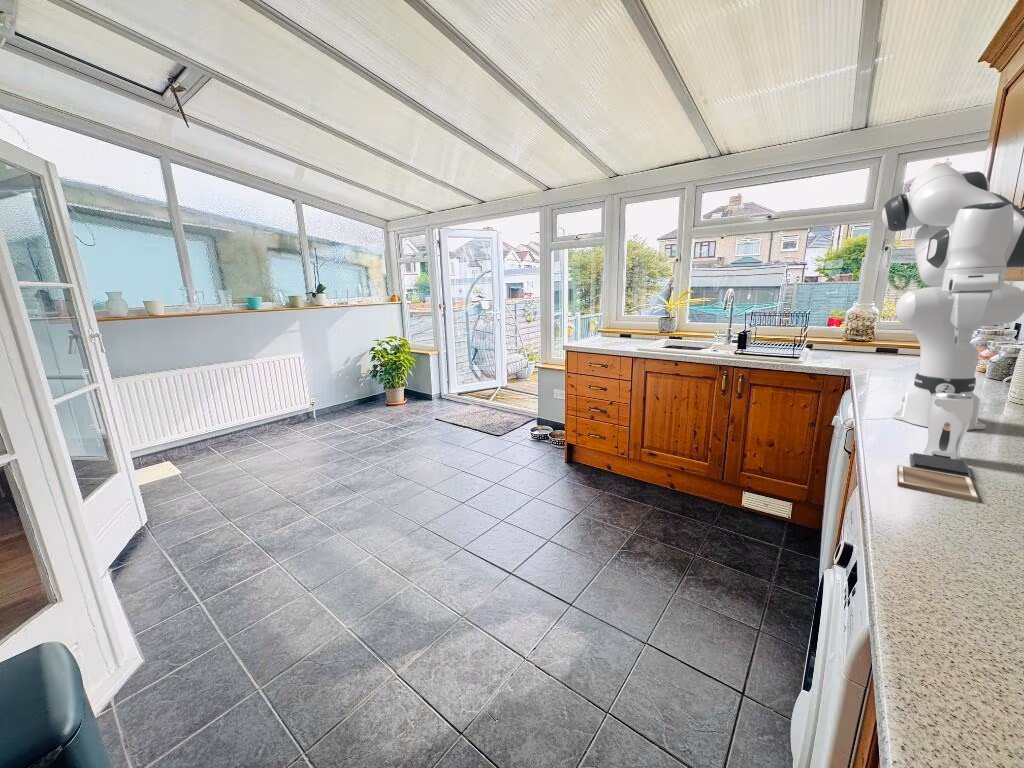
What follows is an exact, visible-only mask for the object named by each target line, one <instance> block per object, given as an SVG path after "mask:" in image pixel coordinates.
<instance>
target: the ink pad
mask: <svg viewBox="0 0 1024 768" xmlns="http://www.w3.org/2000/svg"><path fill="white" fill-rule="evenodd" d="M909 467H914V468H920V469H925V470H931V471H937V472H943V473H948V474H954V475H960V476H966V477H970V478H971V480H972V479H973V475H972V473H971V471H970V468H969V466H968V463H967V462H966V461H965V460H956V459H950V458H943V457H937V456H931V455H924V454H923V453H916V452H912V453H910V454H909Z"/></svg>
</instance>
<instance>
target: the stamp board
mask: <svg viewBox="0 0 1024 768" xmlns="http://www.w3.org/2000/svg"><path fill="white" fill-rule="evenodd" d="M896 469H897V471H896V475H897V480H896V481H897V487H898V486H900V487H899V488H903V487H904V489H908V488H910V489H909V490H914V491H919V490H920V491H919V492H924V491H925V492H924V493H929V492H930V494H933V495H939V496H944V497H948V498H954V499H959V498H960V499H959V500H964V499H966V500H965V501H969V500H970V501H969V502H974V503H979V499H980V498H979V495H978V492H977V490H976V487H975V486H974V483H973V480H972V479H971V478H970V477H966V476H960V475H954V474H948V473H943V472H937V471H931V470H925V469H920V468H914V467H910V466H907V465H902V464H898V465H897V467H896Z"/></svg>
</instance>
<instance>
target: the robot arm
mask: <svg viewBox="0 0 1024 768" xmlns="http://www.w3.org/2000/svg"><path fill="white" fill-rule="evenodd" d="M881 220H882V223H883V225H884V226H885V227H886V228H887V229H888V230H889V231H891V232H901V231H906V230H907V229H911V228H917V227H919V228H918V229H917V230H916V231H915V235H914V242H913V244H914V245H913V250H914V256H915V261H916V264H917V269H918V273H919V277H920V279H921V281H922V282H923V283H924V284H925V285H927V286H928V287H924V288H923V287H922V288H917V289H913V290H908V291H906V292H904V293H903V294H902V295H901V296H900V298H898V300H897V301H896V304H895V307H894V313H895V316H896V319H898V321H899V322H900V323H901V324H903V325H904V326H906V327H907V328H908V329H910V330H911V332H913V333H914V335H915V336H916V338H917V340H918V342H919V348H920V349H919V350H920V352H919V354H920V355H919V363H918V364H919V366H918V371H917V373H916V374H915V375H914V376H915V377H914V379H913V380H914V381H913V388H912V389H910V390H908V391H907V392H906V393H905V394H904V395H903V396H902V399H901V401H902V403H903V404H902V405H901V408H900V409H899V410H897V411H896V412H895V413H894V414H893V416H892V418H893V419H895V420H899V421H903V422H906V423H909V424H911V425H912V424H913V425H916V426H921V427H927V428H928V424H927V415H928V409H929V404H930V401H931V398H932V394H933V393H956V394H963V395H968V396H972V397H974V402H973V413H972V419H971V422H970V425H969V427H968V430H967V431H971V430H986V427H987V426H986V424H984V423H982V422H981V421H979V420H978V419H979V414H980V413H979V412H980V406H981V405H980V404H981V399H980V398H979V397H978V396H977V395H975V393H974V392H973V391H975V387H976V385H977V382H976V381H977V378H976V377H975V374H976V369H977V363H978V358H979V350H978V349H977V346H975V345H974V344H972V343H971V341H972V337H973V335H974V330H975V329H980V328H981V327H990V326H997V325H998V326H999V325H1004V324H1009V323H1014V322H1015V321H1017V320H1018V319H1019V318H1020V317H1022V316H1023V314H1024V290H1022V289H1021V288H1020V287H1018V286H1015V285H1011V284H1008V283H1005V282H1004V281H1005V276H1006V271H1007V268H1024V210H1023V209H1022V208H1020V207H1018V206H1017V205H1016V204H1015V203H1013V202H1012V201H1010V199H1008V198H1006V197H1005V196H1003V195H1001V194H998V193H995V192H993V191H991V183H990V181H989V179H988V178H987V177H986V175H985V174H984V173H983V172H981V171H970V172H964V173H961V172H960V171H958V170H957V169H955V168H953V167H950V166H946V165H939V166H933V167H930V168H928V169H926V170H924V171H922V172H921V173H920V174H918V175H917V176H916V177H915V178H914V180H913V181H912V182H911V185H910V188H909V191H907V192H906V193H905V192H904V193H899V194H898V195H896V196H894V197H892V198H890V199H889V200H887V201H886V203H885V204H884V205H883V208H882V213H881Z"/></svg>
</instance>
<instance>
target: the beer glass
mask: <svg viewBox="0 0 1024 768" xmlns="http://www.w3.org/2000/svg"><path fill="white" fill-rule="evenodd" d="M973 402H974V397H972V396H968V395H963V394H956V393H933V394H932V398H931V401H930V404H929V409H928V415H927V424H928V427H927V436H928V437H927V438H928V439H927V444H926V447H925V448H924V450H923V453H922V454H924V455H931V456H937V457H943V458H950V459H956V460H961V459H962V458H961V457H962V456H961V445H962V443H963V440H964V438H965V436H966V434H967V432H968V431H969V430H968V427H969V425H970V422H971V419H972V413H973Z"/></svg>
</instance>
